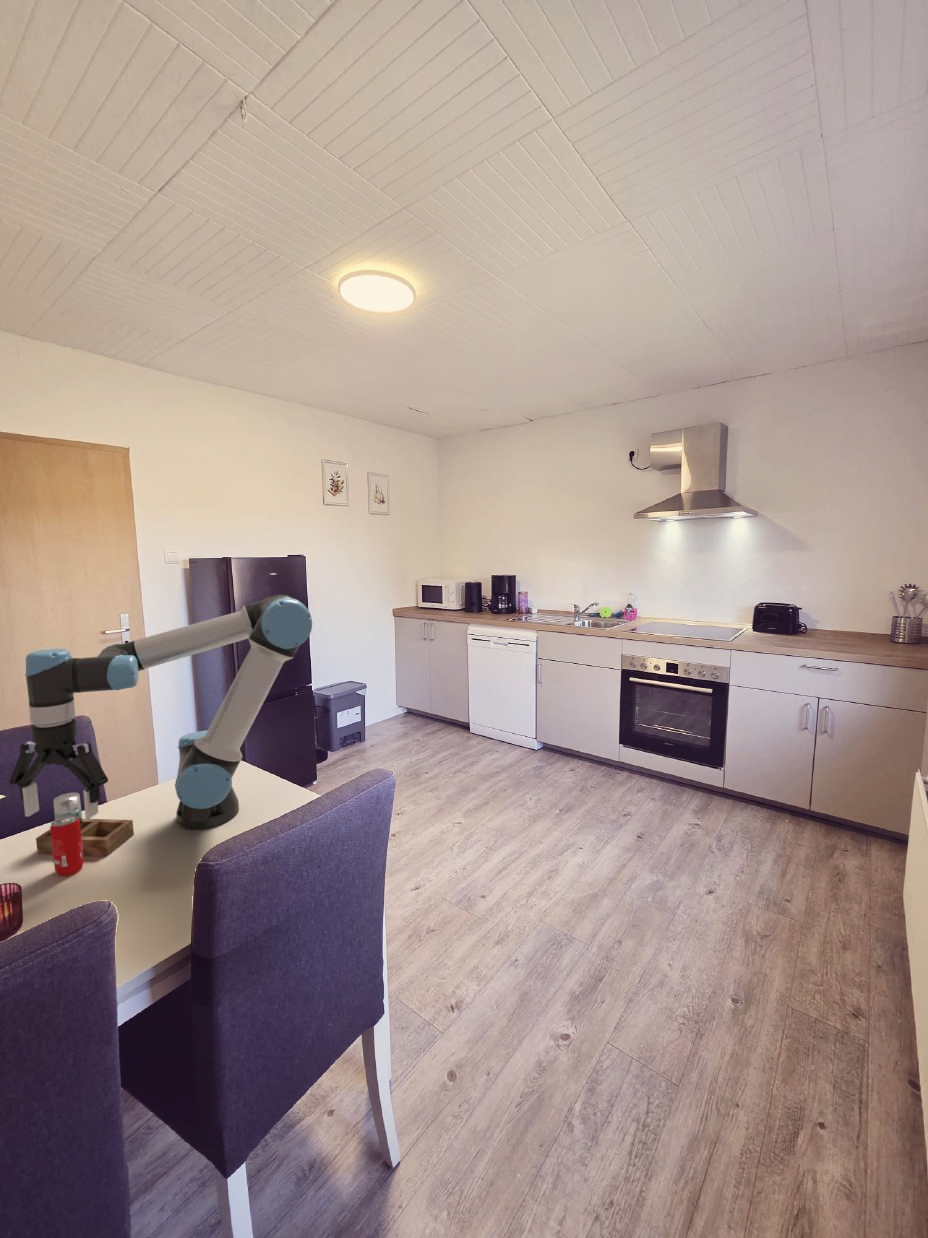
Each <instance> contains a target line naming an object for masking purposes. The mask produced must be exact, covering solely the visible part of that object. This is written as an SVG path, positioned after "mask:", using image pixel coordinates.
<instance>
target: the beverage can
mask: <svg viewBox="0 0 928 1238" xmlns="http://www.w3.org/2000/svg"><path fill="white" fill-rule="evenodd" d="M50 824H51V825H50V829H49V830H50V831H51V840H52V849H53V855H52V858H53V865H54V871H55V873H56V874H57V875H58V877H69V876H72V875H75V874H77V873H78V872H80V871H81V870H82V869H83V866H84V864H85V859H84V857H85V856H84V855H83V846H82V836H81V827H80V819H79V818H78V816H77V815H67V816H63V817H60V818H57V819H55V818H54V820H53V821H51V823H50Z"/></svg>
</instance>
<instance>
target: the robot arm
mask: <svg viewBox="0 0 928 1238" xmlns="http://www.w3.org/2000/svg"><path fill="white" fill-rule="evenodd" d="M312 629H313V620H312V615H311V613H310V610H309V609H308V607H307V606H305V604H304V603H302V602H301V601H299V600H298V599H295V598H294V597H293V596H290V595H287V594H276V595H271V596H268V597H266V598H264V599H262V600H259V601H256V602H254V603H249V604H246V605H243V606H242V608H241V609H240V610H239V611H236V612H232V613H229V614H225V615H221V616H217V617H215V618H210V619H207V620H204V621H199V622H196V623H192V624H189V625H186V626H181V627H178V628H175V629H171V630H168V631H167V630H166V631H163V632H161V633H157V634H154V635H150V636H145V637H141V638H138V639H135V640H132V641H128V642H125V643H116V644H112V645H109V646H107V647H105V648H104V649H102V650H101V652H100V653H99V654H98V655H97V656H93V657H90V656H89V657H78V658H77V657H72V655H71V652H70V650H69V649H66V648H47V649H41V650H34V651H32V652H30V653H28V654H27V655H26V657H25V674H24V675H25V680H26V687H27V689H26V690H27V696H28V708H29V709H28V710H29V719H30V724H31V725H32V726H31V727H30V730H31V739H32V740H29V741H26V742H24V743H22V744H20V748H19V749H20V751H19V756H18V759H17V761H16V764H15V766H14V769H13V770H12V773H11V776H10V778H9V781H8V783H9V784H10V785H17V787H18V788H19V793H20V798H21V800H22V801H23V807H24V817H26V818H27V817H28V818H29V817H30V816H32V815H33V814H35V813H37V812H39V811H40V805H39V804H40V803H39V793H38V783H37V782H35V779H36V777H37V776H38V775H39V774H40V772H42V770H43V769H44V767H45V766H46V765H49V766H50V765H57V766H63V767H64V768H67V769H69V770H70V772H71V773H72V774H73V775H74V776H75V777H76V778H77V779H78V780H79V782H80V783H81V784H83V786H84V788H85V789H83V801H84V815H85V819H92V818H93V817H94V816H96V815H98V813H99V803H98V801H100V799H101V793H100V787H102V786H103V785H105V784H107V783H108V782H109V778H108V777H107V775H106V773H105V771H104V770H103V768H102V766H101V765H100V763H99V761H98V760H97V759H98V758H96V756H95V754H94V752H93V749H92V744H91V742H90V741H86V742H84V743H79V744H77V743H76V737H77V734H78V733H77V732H78V730H77V720H76V719H75V717H76V709H75V700H74V699H75V697H74V694H75V693H76V694H79V693H90V692H104V691H105V692H106V691H121V690H125V689H132V688H135V687H136V686H137V685H138V681H139V672H141V671H143V670H146V669H149V668H153V667H157V666H160V665H163V664H167V663H170V662H173V661H176V660H181V659H183V658H187V657H190V656H193V655H196V654H200V653H204V652H207V651H210V650H213V649H217V648H220V647H224V646H227V645H230V644H234V643H237V642H241V641H245V640H248V642H249V644H250V649H249V651H248V653H247V655H246V656H245V658H244V660H243V662H242V664H241V666H240V668H239V670H238V672H237V674H236V676H235V678H234V679H233V680H232V681H233V682H232V683H231V686H230V688H229V689H228V691H227V693H226V695H225V697H224V699H223V701H222V703H221V704H220V706H219V708H218V710H217V713H216V714H215V716H214V718H213V720H212V722H211V723H210V725H209V727H208V728H207V730H201V731H195V732H190V733H187V734H185V735H183V736H181V737H180V738H179V739H178V746H177V749H178V750H179V751H178V752H179V754H178V755H179V763H178V769H177V777H176V780H175V784H174V789H175V792H176V797H177V798H178V799H179V802H178V805H177V809H176V815H175V816H176V817H175V818H176V823H177V825H178V826H179V827H180V828H183V829H186V830H202V829H203V830H204V829H208V828H214V827H217V826H219V825H221V824H224V823H226V822H229V821H230V820H232V819H233V818H234V817H236V815H237V814H238V813H239V810H240V803H239V798H238V797H237V794H236V792H235V789H234V787H233V777H234V775H235V773H236V771H237V769H238V767H239V765H240V762H241V761H242V759H243V754H242V752H241V747H242V745H243V743H244V741H245V739H246V737H247V736H248V733H249V731H250V730H251V727H252V725H253V724H254V722H255V719H256V717H257V716H258V714H259V712H260V710H261V708H262V706H263V705H264V702H265V701H266V698H267V696H268V695H269V693H270V691H271V688H272V687H273V685H274V683H275V681H276V678H277V677H278V675H279V674H280V670H281V669H282V667H283V665H284V663H285V662H287V661H290V660H292V659H294V657H295V656H296V654H297V651H298V649H299V648H300V646H301V645H303V644H304V643H305V642H306V641H307V639H308V638H309V636H310V635H311V633H312ZM35 753H36V754H37V757H36V758H35V759H34V761H33V762H32V760H33V758H34V756H35ZM31 763H32V764H31ZM30 765H31V766H30Z"/></svg>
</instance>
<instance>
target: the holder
mask: <svg viewBox="0 0 928 1238" xmlns="http://www.w3.org/2000/svg"><path fill="white" fill-rule="evenodd" d="M82 821H83V822H82V823H83V829H82V830H81V836H82V846H83V856H84V857H85V856H88V857H90V856H91V857H108V856H110V855H111V854H113V852H115V851H116V850H117V849H118V848H120V847H121V846H122V845H123V844H125V843H126V842H127V841H129V839H130V838H132V837H133V836H135V833H134V823H133V822H134V821H133V819H110V818H108V819H104V818H103V819H102V818H90V819H86V818H82ZM35 840H36V841H35V842H36V851H37V855H50V856H51V855H52V856H53V849H52V840H51V831H50V829H48V830H46V831H45V832H43V833H41V834H40V835H38V836H37V837H35Z"/></svg>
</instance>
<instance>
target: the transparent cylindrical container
mask: <svg viewBox="0 0 928 1238" xmlns="http://www.w3.org/2000/svg"><path fill="white" fill-rule="evenodd" d="M52 801H53V811H54V820H55V819H57V818H60V817H63V816H67V815H77V816H78V818H79V819H80V827H81V830H82V829H83V823H82V822H83V821H82V819H83V814H82V804H81V795H80V793H78V792H67V793H63V794H60V795H58V796H56V797H55V798H53V800H52Z"/></svg>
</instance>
